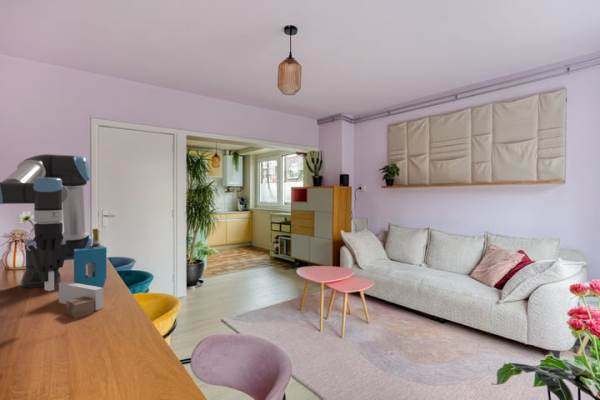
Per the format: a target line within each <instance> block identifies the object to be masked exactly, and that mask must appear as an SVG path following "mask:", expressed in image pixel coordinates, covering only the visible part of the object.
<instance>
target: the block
mask: <svg viewBox="0 0 600 400" xmlns="http://www.w3.org/2000/svg"><path fill="white" fill-rule="evenodd" d="M107 256H108V255H107V246H104V247H94V248H82V249H74V260H73V283H79V284H85V285H90V286H96V287H101V288H103V289H104V287H105V284H106V280H107V268H108V267H107V265H108V264H107V263H108V262H107ZM90 261H92V262H93V263H95V274H94V275H93V277H88V274H87V266H88V263H89V262H90Z"/></svg>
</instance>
